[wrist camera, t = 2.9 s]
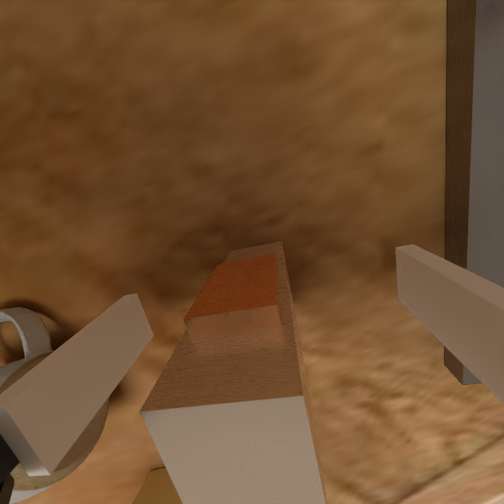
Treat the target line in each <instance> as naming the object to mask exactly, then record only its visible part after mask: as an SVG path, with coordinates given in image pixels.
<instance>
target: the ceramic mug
mask: <svg viewBox="0 0 504 504" xmlns="http://www.w3.org/2000/svg"><path fill="white" fill-rule="evenodd" d="M7 320H9V321H12V322H13V323H14V324H15V326H16V328H17V329H18V331H19V333H20V337H21V339H22V343H23V350H24V353H25V358H23V359H21V360H18V361H14V362H11V363H9V364H7V365H5V366H2V367H0V394H1V393H3V392H4V391H5V390H6V389H8V388H9V387H10V386H11V385H13V384H14V383H15V382H16V381H18V380H19V379H20V378H21V377H23V376H24V375H25V374H26V373H28V372H29V371H30V370H31V369H33V368H34V367H35V366H36V365H38V364H39V363H40V362H41V361H43V360H44V359H45V358H46V357H48V356H49V355H50V354H51V353H53V352H54V351H53V350H52V349H51V348H52V347H51V340H50V335H49V332H48V330H47V328H46V326H45V324H44V322H43V320H42V319H41V317H40V316H39V315H38V314H36V313H35V312H34V311H32V310H29V309H26V308H21V307H14V308H8V309H0V323H1V322H4V321H7ZM108 407H109V397H108V398H107V400H106V401H105V402H104V404H103V405H102V406H101V408H100V409H99V410H98V412H97V413H96V414H95V416H94V417H93V419H92V420H91V421H90V423H89V424H88V425H87V427H86V428H85V429H84V431H83V432H82V433H81V435H80V436H79V437H78V439H77V440H76V441H75V443H74V444H73V445H72V447H71V448H70V449H69V451H68V452H67V453H66V455H65V456H64V457H63V459H62V460H61V461H60V463H59V464H58V465H57V467H56V468H55V469H54V471H53V472H52V473H51V475H44V476H29V475H28V474H27V473H26V471H25V470H24V468H23V467H22V466H21V464H20V463H19V464H18V465H17V466H16V467H15V468H14V469H13V471H12V472H11V473H10V474H11V475H12V477H13V478H14V488H13V492H12V495H11V499H10V502H9V504H13V503H16V502H19V501H22V500H24V499H27V498H29V497H32V496H34V495H36V494H39V493H40V492H42V491H44V490H46V489H47V488H49V487H51V486H52V485H54V484H55V483H57V482H59V481H60V480H62V479H63V478H65V477H66V476H67V475H69V474H70V473H71V472H73V471H74V470H75V469H76V468H77V467H78V466H79V465H80V464H81V463H82V462H83V461H84V460H85V459H86V457H87V456H88V455H89V454H90V452H91V451H92V450H93V448H94V446H95V445H96V443H97V441H98V440H99V438H100V435H101V433H102V431H103V428H104V425H105V422H106V418H107V414H108Z"/></svg>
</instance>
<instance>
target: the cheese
mask: <svg viewBox="0 0 504 504" xmlns="http://www.w3.org/2000/svg"><path fill="white" fill-rule="evenodd" d="M133 504H183V503H182V501H181V499H180V497H179V495H178V492H177V490H176V488H175V486H174V484H173V482H172V480H171V478H170V475H169V473H168V471H167V469H166V467H165V468H160V469H155V470H152V471H150V473H149V475H148V477H147V479H146V481H145V483H144V484H143V486H142V488H141V490H140V491H139V493H138V495H137V497H136V498H135V500H134V502H133Z"/></svg>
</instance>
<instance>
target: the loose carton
mask: <svg viewBox="0 0 504 504" xmlns="http://www.w3.org/2000/svg"><path fill="white" fill-rule="evenodd" d="M184 322H185V324H186V327H187V329H186V331H185V332H184V334H183V336H182V338H181V339H180V341H179V343H178V345H177V346H176V348H175V350H174V352H173V353H172V355H171V357H170V359H169V361H168V362H167V364H166V366H165V368H164V369H163V371H162V373H161V375H160V376H159V378H158V380H157V382H156V384H155V385H154V387H153V389H152V391H151V392H150V394H149V396H148V398H147V399H146V401H145V403H144V405H143V407H142V408H141V410H140V414H141V416H142V418H143V420H144V422H145V424H146V427H147V429H148V431H149V433H150V435H151V437H152V439H153V441H154V444H155V446H156V448H157V450H158V452H159V454H160V456H161V458H162V461H163V463H164V465H165V467H166V469H167V471H168V473H169V475H170V478H171V480H172V482H173V484H174V486H175V488H176V490H177V492H178V495H179V497H180V499H181V501H182V503H183V504H327V499H326V493H325V487H324V481H323V475H322V469H321V463H320V457H319V451H318V445H317V439H316V433H315V427H314V421H313V415H312V409H311V403H310V397H309V391H308V385H307V379H306V373H305V367H304V361H303V355H302V349H301V343H300V337H299V331H298V325H297V319H296V313H295V307H294V301H293V296H292V291H291V286H290V281H289V276H288V270H287V265H286V260H285V255H284V250H283V245H282V241H277V242H272V243H267V244H261V245H256V246H251V247H246V248H241V249H236V250H231V251H230V253H229V254H228V256H227V258H226V260H225V262H224V263H222V264H218V265H217V267H216V268H215V270H214V271H213V273H212V275H211V276H210V278H209V279H208V281H207V283H206V284H205V286H204V287H203V289H202V291H201V292H200V294H199V295H198V297H197V299H196V300H195V302H194V304H193V305H192V307H191V308H190V310H189V312H188V313H187V315H186V316H185V318H184Z"/></svg>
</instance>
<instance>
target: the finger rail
mask: <svg viewBox="0 0 504 504" xmlns="http://www.w3.org/2000/svg"><path fill="white" fill-rule="evenodd" d="M445 260H447V261H449V262H451V263H453V264H455V265H458V266H460V267H462V268H464V269H466V270H468V271H470V272H472V273H474V274H476V275H478V276H480V277H482V278H485V279H487V280H489V281H491V282H493V283H495V284H497V285H499V286H501V287H503V288H504V0H448V5H447V127H446V248H445ZM445 366H446V367H447V368H448V370H449V371H450V372H451V373H452V374H453V375H454V376H455V377H456V378H457V379H458V381H459V382H460V383H461V384H462V385H469V384H479V383H482V382H481V381H480V380H479V379H478V378H477V377H476V376H475V375H474V374H472V373H471V372H470V371H469V370H468V369H467V368H466V367H465V366H464V365H463V364H462V363H461V362H460V361H459V360H458V359H457V358H456V357H455V356H454V355H453V354H452V353H451V352H450V351H449V350H448V349H447V348H446V347H445Z"/></svg>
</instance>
